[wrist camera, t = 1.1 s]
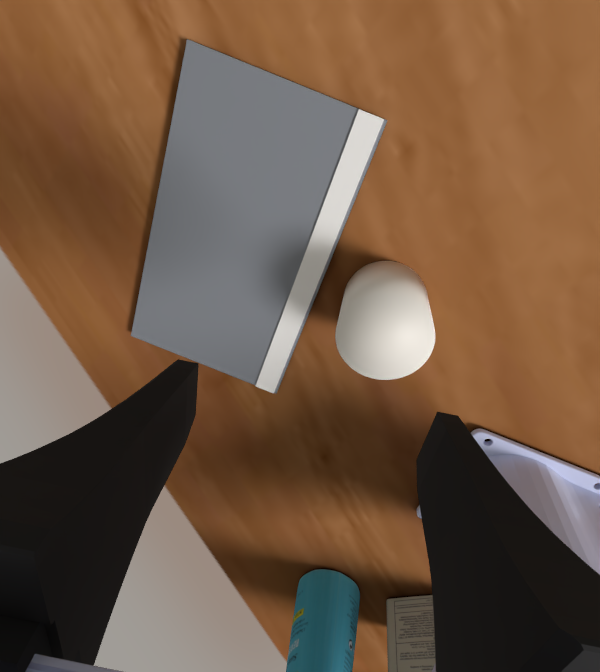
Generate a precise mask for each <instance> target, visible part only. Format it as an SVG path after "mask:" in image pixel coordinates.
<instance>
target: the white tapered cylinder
mask: <svg viewBox="0 0 600 672" xmlns="http://www.w3.org/2000/svg"><path fill="white" fill-rule="evenodd" d="M335 337H336V345H337V348H338V351H339V353H340V355H341V357H342V358H343V360H344V361H345V362H346V363H347V364H348V365H349V366H350V367H351V368H352V369H353V370H355V371H356V372H358V373H360V374H362V375H364V376H366V377H369V378H373V379H380V380H391V379H397V378H402V377H404V376H407V375H409V374H411V373H413V372H415V371H416V370H418V369H419V368H420V367H421V366H422V365H423V364H424V363H425V362H426V361H427V359H428V358H429V357H430V355H431V353H432V350H433V347H434V343H435V329H434V324H433V319H432V314H431V310H430V305H429V300H428V296H427V291H426V288H425V285H424V283H423V281H422V279H421V278H420V276H419V275H418V274H417V273H416V272H415V271H414V270H413V269H411V268H410V267H408V266H406V265H404V264H402V263H399V262H395V261H377V262H373V263H370V264H368V265H366V266H364V267H362V268H361V269H359V270H358V271H357V272H356V273H355V274H354V275H353V276H352V277H351V278H350V280H349V281H348V283H347V285H346V288H345V292H344V296H343V300H342V305H341V309H340V314H339V318H338V323H337V327H336V335H335Z"/></svg>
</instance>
